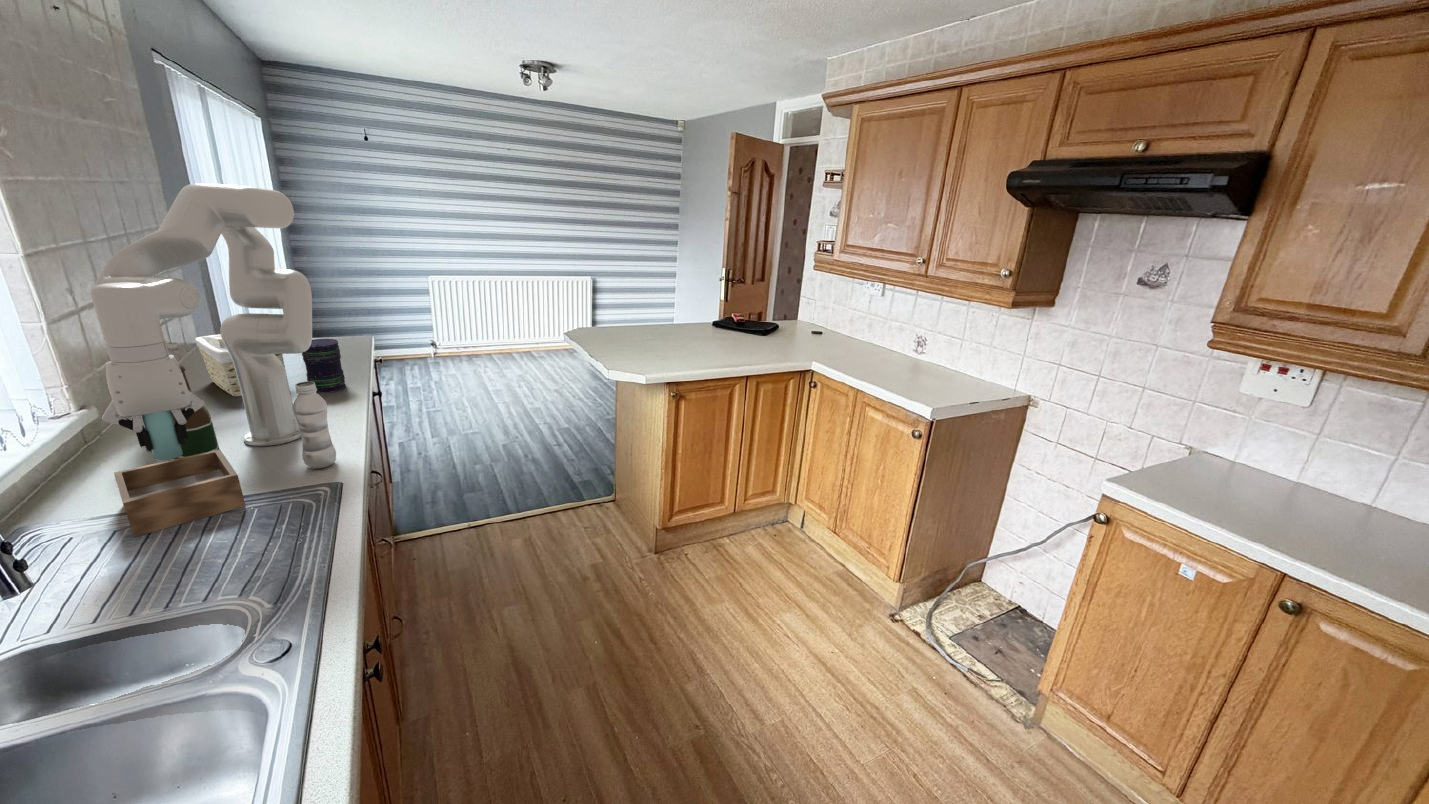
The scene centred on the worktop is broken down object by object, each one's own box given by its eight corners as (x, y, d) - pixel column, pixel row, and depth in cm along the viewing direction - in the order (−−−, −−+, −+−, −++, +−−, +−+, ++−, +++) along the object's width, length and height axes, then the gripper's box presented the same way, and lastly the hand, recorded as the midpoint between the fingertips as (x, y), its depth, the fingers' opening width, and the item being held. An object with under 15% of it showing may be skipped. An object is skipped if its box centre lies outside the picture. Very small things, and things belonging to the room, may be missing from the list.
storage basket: (293, 388, 178) (283, 342, 173) (229, 400, 165) (216, 351, 160) (266, 371, 191) (256, 329, 186) (204, 382, 178) (192, 336, 173)
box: (227, 478, 123) (220, 449, 121) (245, 505, 113) (237, 474, 111) (124, 504, 111) (113, 472, 109) (134, 537, 102) (122, 503, 99)
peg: (180, 449, 111) (167, 402, 108) (184, 456, 108) (170, 407, 105) (152, 455, 108) (138, 406, 105) (155, 462, 105) (141, 412, 102)
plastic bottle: (302, 474, 127) (284, 390, 120) (306, 461, 132) (289, 380, 125) (336, 469, 129) (320, 387, 123) (339, 457, 135) (324, 378, 128)
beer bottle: (186, 480, 121) (154, 374, 113) (172, 470, 125) (141, 366, 117) (230, 467, 127) (203, 366, 119) (216, 458, 131) (189, 359, 123)
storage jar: (312, 384, 181) (303, 339, 176) (348, 382, 185) (340, 338, 180) (306, 394, 173) (296, 347, 168) (343, 391, 177) (335, 345, 172)
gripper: (196, 342, 110) (218, 429, 116) (69, 355, 98) (100, 451, 104) (204, 350, 105) (226, 440, 111) (71, 364, 93) (104, 464, 99)
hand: (165, 444), depth 107 cm, fingers closed on peg, 4 cm apart
